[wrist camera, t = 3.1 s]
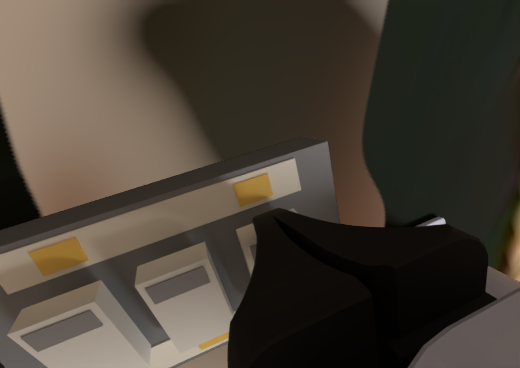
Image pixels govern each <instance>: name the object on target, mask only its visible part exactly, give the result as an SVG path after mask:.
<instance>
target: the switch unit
mask: <svg viewBox="0 0 520 368" xmlns="http://www.w3.org/2000/svg"><path fill="white" fill-rule="evenodd" d="M276 208H282V209H286V210H290V209H293V208H294V209H295V210H296V212H297V213H298V214H301V215H304V216H308V217H311V218H315V219H319V220H323V221H328V222H332V223H338V224H340V220H339V213H338V207H337V200H336V194H335V187H334V181H333V174H332V168H331V161H330V155H329V148H328V142H327V141H324V140H319V139H314V138H309V137H305V136H302V137H298V138H295V139H292V140H288V141H285V142H282V143H279V144H275V145H273V146H269V147H266V148H263V149H259V150H256V151H253V152H250V153H247V154H243V155H240V156H237V157H234V158H231V159H227V160H224V161H221V162H218V163H214V164H212V165H208V166H205V167H202V168H198V169H195V170H192V171H189V172H186V173H183V174H180V175H176V176H173V177H170V178H166V179H163V180H160V181H157V182H154V183H150V184H148V185H144V186H141V187H137V188H135V189H131V190H128V191H125V192H122V193H118V194H115V195H112V196H109V197H105V198H102V199H99V200H96V201H93V202H90V203H86V204H83V205H80V206H77V207H74V208H70V209H67V210H64V211H60V212H57V213H54V214H51V215H48V216H44V217H41V218H38V219H35V220H32V221H28V222H25V223H22V224H19V225H15V226H12V227H9V228H6V229H3V230H0V362H1V363H2V364H3V366H4V367H5V368H48V367H46V366H45V365H44V364H43V363H41V362H40V361H39V360H38V359H36V358H35V357H34V356H32V355H31V354H30V353H29V352H27V351H26V350H25V349H24V348H22V347H21V346H20V345H19V344H17V343H16V342H15V341H14V340H12V339H11V338H10V337H8V336H7V334H8V332H9V330H10V329H11V327H12V325H13V324H14V322H15V320H16V318H17V317H18V315H19V313H20V312H21V310H22V309H24V308H26V307H29V306H32V305H35V304H37V303H40V302H43V301H45V300H48V299H51V298H53V297H56V296H59V295H62V294H64V293H67V292H70V291H72V290H75V289H78V288H80V287H83V286H86V285H89V284H91V283H94V282H97V281H99V280H101V281H102V282H103V283H104V284H105V286H106V287H107V288H108V290H109V291H110V292H111V294H112V295H113V296H114V297H115V299H116V300H117V301H118V303H119V304H120V305H121V307H122V308H123V309H124V310H125V312H126V313H127V314H128V316H129V317H130V318H131V320H132V321H133V322H134V323H135V325H136V326H137V327H138V329H139V330H140V331H141V333H142V334H143V335H144V336H145V338H146V339H147V340H148V342H149V343H150V344H151V355H150V367H149V368H175V367H178V366H179V365H182V364H184V363H186V362H188V361H191V360H193V359H195V358H197V357H199V356H201V355H203V354H206V353H208V352H210V351H212V350H214V349H217V348H219V347H221V346H223V345H226V344H228V338H229V332H227V333H225V334H222V335H220V336H218V337H216V338H213V339H211V340H209V341H207V342H205V343H202V344H200V345H198V346H196V347H193V348H191V349H189V350H187V351H185V352H182V353H180V352H179V351H178V349H177V348H176V346H175V345H174V343H173V342H172V341H171V339H170V338H169V336H168V335H167V333H166V332H165V330H164V329H163V327H162V326H161V324H160V323H159V321H158V320H157V319H156V317H155V316H154V314H153V313H152V311H151V310H150V308H149V307H148V305H147V304H146V302H145V301H144V299H143V298H142V296H141V295H140V294H139V292H138V291H137V289H136V288H135V279H136V272H137V266H140V265H143V264H145V263H148V262H151V261H153V260H156V259H159V258H162V257H164V256H167V255H170V254H172V253H175V252H178V251H180V250H183V249H186V248H189V247H191V246H194V245H197V244H199V243H202V242H205V243H206V246H207V248H208V251H209V253H210V256H211V258H212V261H213V263H214V266H215V268H216V270H217V273H218V275H219V278H220V280H221V283H222V285H223V288H224V290H225V293H226V295H227V297H228V300H229V302H230V305H231V307H232V310H233V313H234V314H235V312H236V311H237V309H238V307H239V305H240V303H241V301H242V299H243V297H244V294H245V292H246V289H247V287H248V284H249V281H250V278H251V277H250V273H249V270H248V267H247V264H246V261H245V257H244V254H243V251H242V248H241V245H240V242H239V238H238V235H237V232H236V229H239V228H241V227H244V226H247V225H249V224H252V223H253V222H252V219H253V217H254V216H257V215H260V214H263V213H265V212H268V211H271V210H274V209H276Z"/></svg>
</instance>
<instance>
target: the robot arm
mask: <svg viewBox="0 0 520 368" xmlns="http://www.w3.org/2000/svg"><path fill="white" fill-rule="evenodd" d="M252 222H253V225H254V229H255V232H256V237H257V243H256V256H255V262H254V267H253V271H252V275H251V278H250V281H249V284H248V287H247V289H246V292H245V294H244V297H243V299H242V301H241V303H240V305H239V307H238V309H237V311H236V312H235V314H234V316H233V318H232V320H231V321H230V327H229V338H228V368H520V282H519V281H517V280H515V279H513V278H511V277H509V276H507V275H505V274H503V273H501V272H499V271H497V270H495V269H493V268H491V267H489V266H488V254H487V251H486V249H485V246H484V244H483V243H482V242H481V241H480V239H479V238H477V237H475V236H472V235H470V234H468V233H466V232H463V231H461V230H459V229H457V228H454V227H452V226H450V225H448V224H445V219H444V218H441V217H436V218H434V219H431V220H429V221H427V222H424V223H422V224H420V225H417V226H415V227H391V228H388V227H363V226H352V225H345V224H338V223H332V222H328V221H323V220H319V219H315V218H311V217H308V216H304V215H301V214H298V213H295V212H292V211H289V210H286V209H282V208H276V209H274V210H271V211H268V212H265V213H263V214H260V215H257V216H254V217H253V219H252Z"/></svg>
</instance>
